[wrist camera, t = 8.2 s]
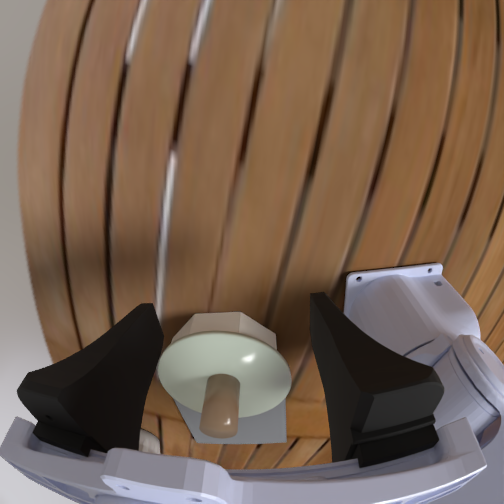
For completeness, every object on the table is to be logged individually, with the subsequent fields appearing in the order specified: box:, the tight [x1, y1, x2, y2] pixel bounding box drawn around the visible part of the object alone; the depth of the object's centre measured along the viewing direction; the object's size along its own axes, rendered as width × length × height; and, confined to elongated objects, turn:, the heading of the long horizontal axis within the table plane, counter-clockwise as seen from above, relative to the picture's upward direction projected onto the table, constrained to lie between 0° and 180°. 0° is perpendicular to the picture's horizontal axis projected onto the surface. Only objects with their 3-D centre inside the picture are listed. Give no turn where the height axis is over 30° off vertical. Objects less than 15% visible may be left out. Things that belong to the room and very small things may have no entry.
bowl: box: [171, 312, 277, 350], centre depth 26 cm, size 10×10×3 cm
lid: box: [158, 331, 291, 439], centre depth 22 cm, size 12×12×6 cm
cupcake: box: [139, 429, 160, 454], centre depth 32 cm, size 9×9×10 cm
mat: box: [173, 398, 286, 444], centre depth 33 cm, size 13×13×1 cm
